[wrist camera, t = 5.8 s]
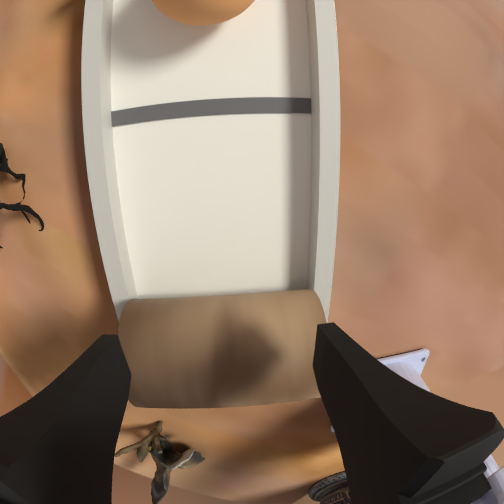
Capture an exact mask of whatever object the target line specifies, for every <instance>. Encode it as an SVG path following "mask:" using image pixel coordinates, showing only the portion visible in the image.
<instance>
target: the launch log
mask: <svg viewBox="0 0 504 504" xmlns="http://www.w3.org/2000/svg"><path fill="white" fill-rule="evenodd" d="M325 323H327V322H326V317H325V313H324V310H323V307H322V304H321V301H320V299H319V297H318V295H317V293H316V292H315V291H314V290H313V289H303V290H290V291H277V292H264V293H249V294H234V295H217V296H198V297H177V298H151V299H131V300H129V301H128V302H127V303H126V304H125V306H124V308H123V310H122V313H121V316H120V320H119V324H118V332H117V335H118V337H119V340H120V343H121V346H122V349H123V352H124V355H125V358H126V361H127V363H128V366H129V369H130V372H131V374H132V375H131V383H130V390H129V397H128V400H129V401H130V403H131V404H132V405H134V406H135V407H143V408H223V407H241V406H254V405H265V404H275V403H284V402H293V401H300V400H307V399H314V398H321V395H320V393H319V390H318V387H317V383H316V379H315V374H314V370H313V366H312V365H313V357H314V349H315V341H316V332H317V324H325Z"/></svg>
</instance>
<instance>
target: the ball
mask: <svg viewBox="0 0 504 504" xmlns="http://www.w3.org/2000/svg"><path fill="white" fill-rule="evenodd" d="M254 1H255V0H152V2H153V3H154V5H155V6H156V8H157V9H159V10H160V11H161V12H162V13H163V14H164V15H166V16H167V17H169V18H171V19H173V20H175V21H177V22H180V23H184V24H188V25H197V26H205V25H213V24H218V23H222V22H225V21H228V20H230V19H232V18H234V17H236V16H238V15H239V14H241V13H242V12H244V11H245V10H246V9H247V8H248V7H249V6H250V5H252V3H253V2H254Z"/></svg>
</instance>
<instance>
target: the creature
mask: <svg viewBox="0 0 504 504" xmlns="http://www.w3.org/2000/svg"><path fill="white" fill-rule="evenodd" d="M7 160H8V159H7V158H6V155H5V151H4V148H3V144H2V143H0V171H4V172H7V173H9V174H11V175H12V176H13V177H15V178H16V179H20V178H22V180H23V183H22V187H23V190H24V184H25V174H16V173H14V172H12V171H11V170H10V169H9V167H8V164H7ZM24 196H25V190H24ZM23 199H24V197H23ZM20 203H21V202H20ZM20 203H17V204H9V205H8V204H5V203H0V209H2V208H5V209H7V210H13V211H20V210H21V211H22V210H23V211H26V212H28V213H30V214H32V215H33V216H35V217H36V218H37V219H38V220H39V221H40V223H41V225H42V229H41V230H39V231H42V230H43V229H44V223H43V221H42V219H41V218H40V216H39V215H38V214H37V213H36V212H34V211H33V210H32V209H31V208H30V207H29V206H27V205H20ZM23 211H22V213H23V214H24V215H25V213H24V212H23ZM25 217H26V219H27V220H28V222H29V223H30V221H29V219H28V217H27V216H26V215H25ZM0 248H2V247H1V246H0Z"/></svg>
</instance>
